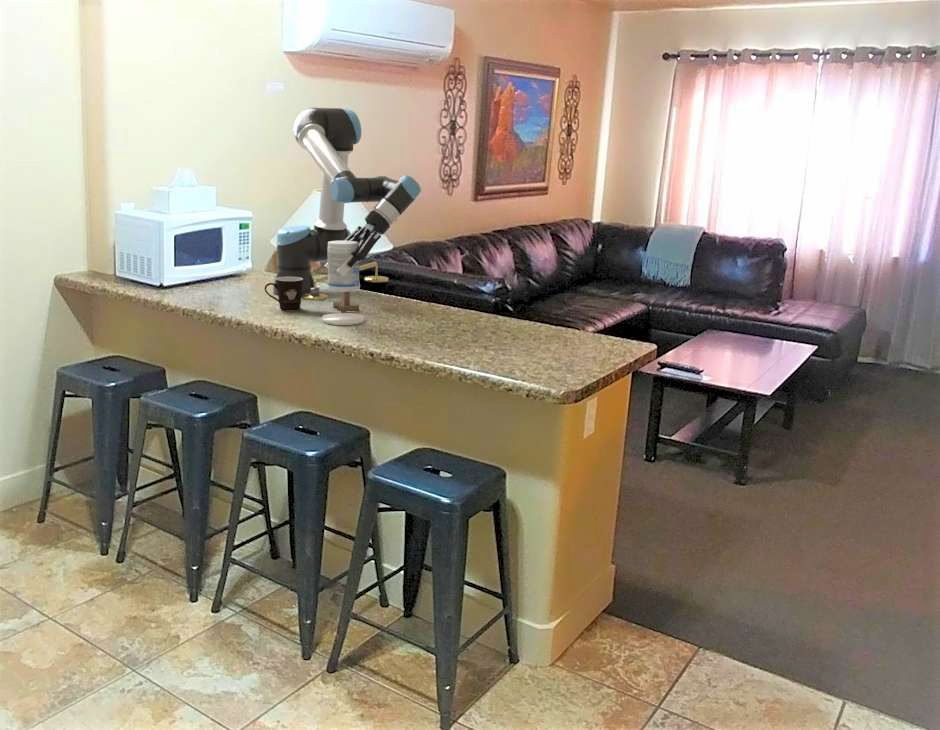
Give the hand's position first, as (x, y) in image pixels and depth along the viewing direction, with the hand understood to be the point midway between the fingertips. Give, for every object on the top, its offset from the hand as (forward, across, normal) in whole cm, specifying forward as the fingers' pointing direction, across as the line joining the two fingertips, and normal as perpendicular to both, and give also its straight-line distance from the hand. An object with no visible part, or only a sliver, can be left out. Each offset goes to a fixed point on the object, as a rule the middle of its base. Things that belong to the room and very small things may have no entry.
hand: (333, 271), depth 272 cm
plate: (+9, 0, -13) cm, 16 cm away
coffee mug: (+17, +24, -6) cm, 30 cm away
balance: (+4, +16, -19) cm, 25 cm away
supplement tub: (+2, 0, -6) cm, 7 cm away
